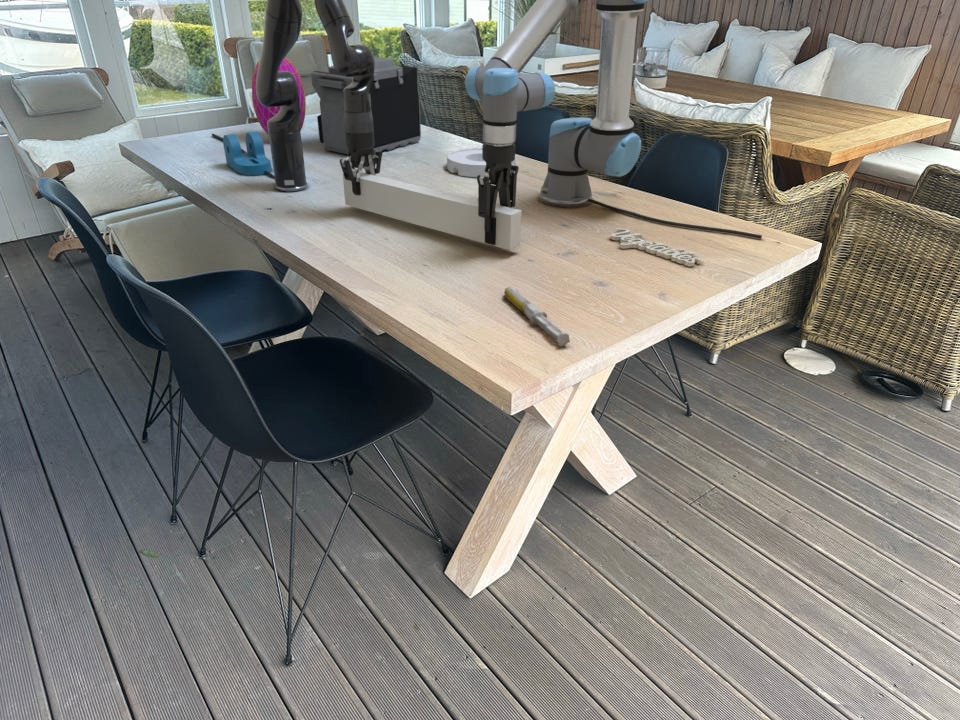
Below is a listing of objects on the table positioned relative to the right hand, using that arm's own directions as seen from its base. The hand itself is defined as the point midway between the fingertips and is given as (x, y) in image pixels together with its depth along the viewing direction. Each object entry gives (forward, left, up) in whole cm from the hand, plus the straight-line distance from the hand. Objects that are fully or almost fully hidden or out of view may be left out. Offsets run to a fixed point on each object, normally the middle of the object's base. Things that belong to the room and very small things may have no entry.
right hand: (496, 240), depth 167 cm
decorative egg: (+120, -68, -2) cm, 138 cm away
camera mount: (+103, -30, -2) cm, 107 cm away
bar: (+22, -5, -1) cm, 23 cm away
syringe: (-22, +31, -2) cm, 38 cm away
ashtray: (+35, -66, -2) cm, 75 cm away
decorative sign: (-34, -17, -2) cm, 38 cm away
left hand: (+44, -9, +3) cm, 45 cm away
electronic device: (+85, -76, -2) cm, 114 cm away
